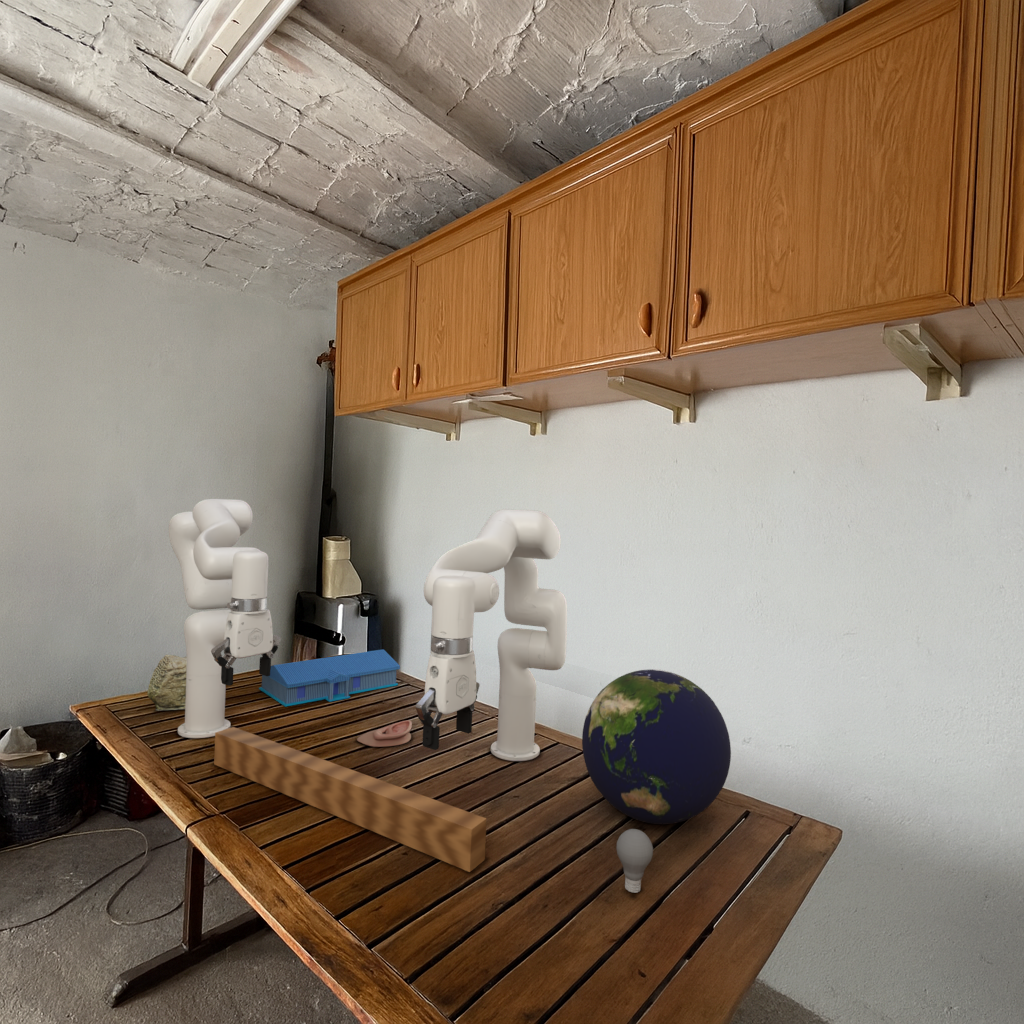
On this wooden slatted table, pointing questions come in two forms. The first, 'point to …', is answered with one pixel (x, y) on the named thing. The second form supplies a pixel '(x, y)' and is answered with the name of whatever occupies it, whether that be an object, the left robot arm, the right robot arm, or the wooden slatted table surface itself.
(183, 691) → the fossil
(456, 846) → the bar
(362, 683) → the model building
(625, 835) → the light bulb
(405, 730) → the anatomical model
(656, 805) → the globe
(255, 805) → the wooden slatted table surface
